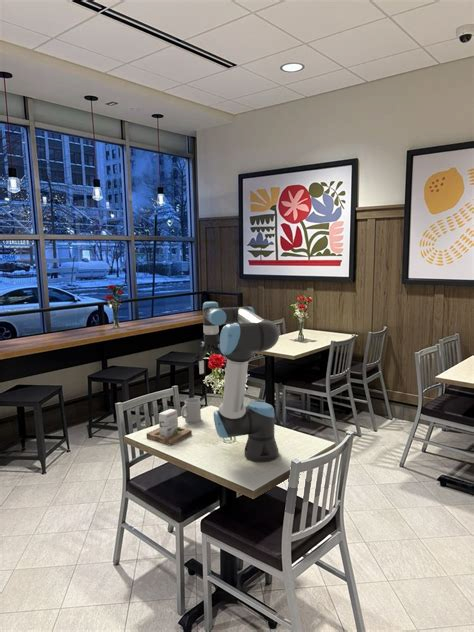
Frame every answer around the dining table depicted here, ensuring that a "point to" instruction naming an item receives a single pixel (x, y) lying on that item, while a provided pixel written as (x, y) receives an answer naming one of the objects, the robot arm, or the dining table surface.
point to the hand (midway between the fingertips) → (212, 375)
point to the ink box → (168, 423)
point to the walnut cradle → (172, 439)
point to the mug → (191, 410)
